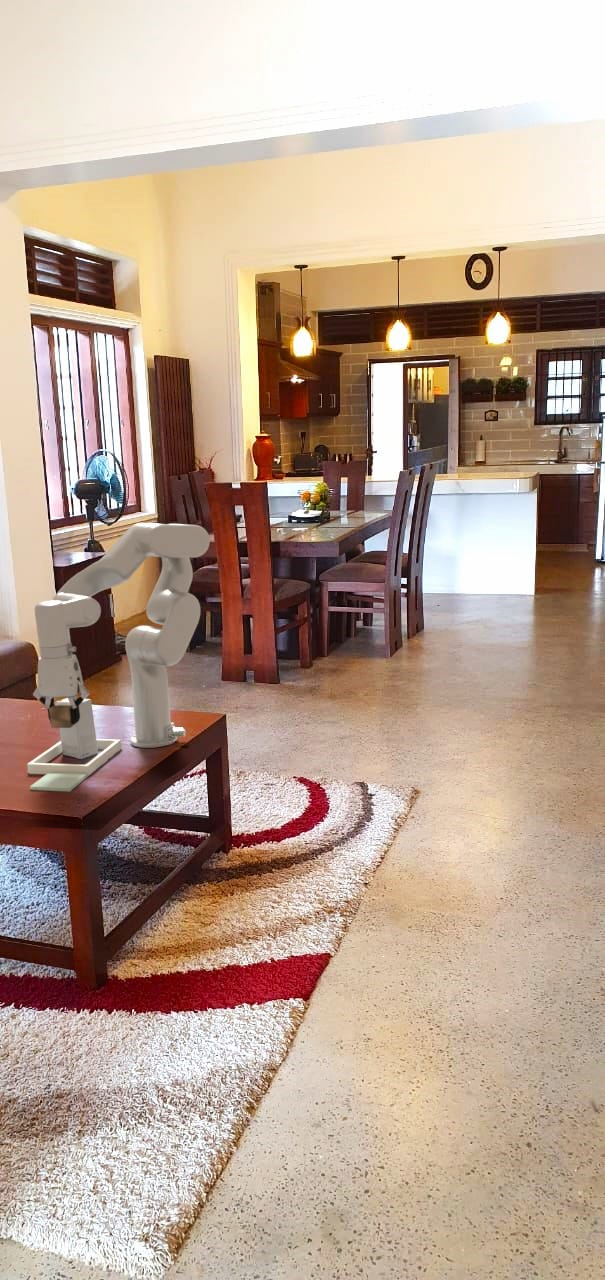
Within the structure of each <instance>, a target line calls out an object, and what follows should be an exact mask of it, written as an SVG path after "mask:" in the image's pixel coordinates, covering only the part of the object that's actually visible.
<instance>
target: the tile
mask: <svg viewBox="0 0 605 1280" xmlns="http://www.w3.org/2000/svg"><path fill="white" fill-rule="evenodd" d="M88 777H89V776H87V774H85V773H59V772H49V773H48V774H44V776H42V777H41V778H40V779H38V780H36V781H35V782H34V783H33V784H31V785H30V786H29V791H50V792H71V791H72V790H73V789H74V788H76V787H77V786H78V785H79V784H80V783H82V782H83V781H84V780H85V779H87V778H88Z"/></svg>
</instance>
